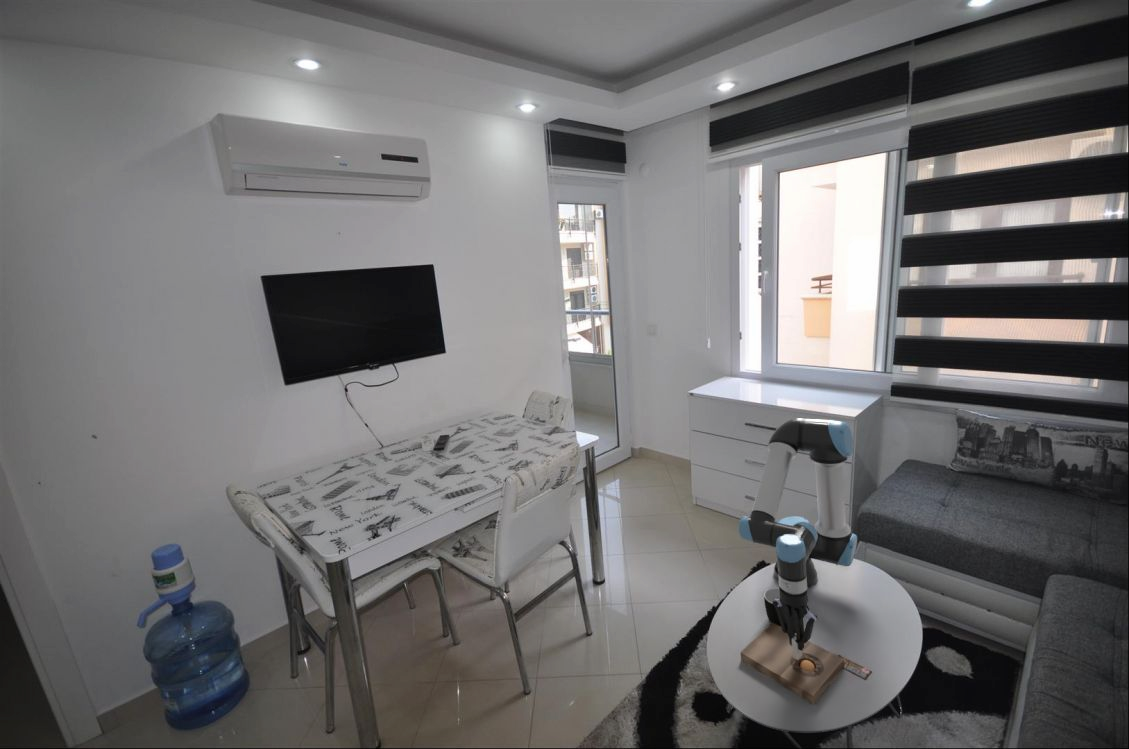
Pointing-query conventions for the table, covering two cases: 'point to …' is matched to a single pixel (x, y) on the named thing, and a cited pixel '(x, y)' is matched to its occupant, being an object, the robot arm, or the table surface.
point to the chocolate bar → (856, 669)
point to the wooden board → (792, 663)
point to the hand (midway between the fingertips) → (797, 656)
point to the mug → (771, 605)
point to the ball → (807, 665)
